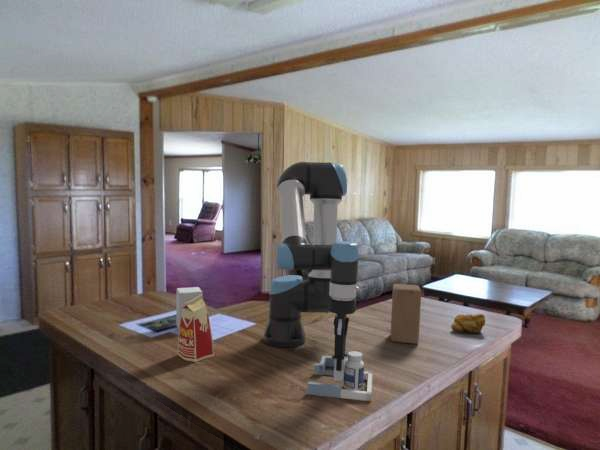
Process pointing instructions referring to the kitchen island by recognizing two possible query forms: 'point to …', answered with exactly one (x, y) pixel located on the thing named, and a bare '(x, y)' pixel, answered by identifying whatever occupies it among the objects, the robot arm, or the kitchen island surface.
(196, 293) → the supplement box
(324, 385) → the blue-grey open frame
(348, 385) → the pill bottle
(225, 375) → the kitchen island surface
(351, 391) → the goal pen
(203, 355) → the milk carton
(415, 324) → the wooden block
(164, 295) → the kitchen island surface
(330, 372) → the pit
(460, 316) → the bread roll
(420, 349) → the kitchen island surface
